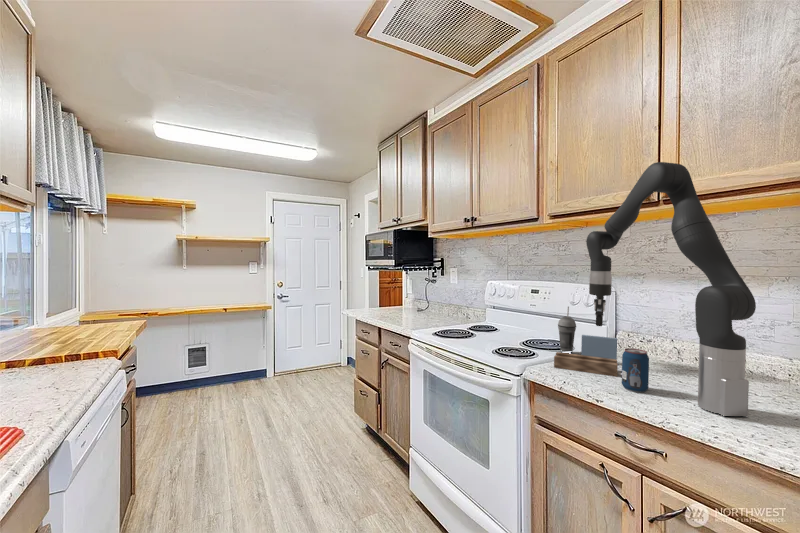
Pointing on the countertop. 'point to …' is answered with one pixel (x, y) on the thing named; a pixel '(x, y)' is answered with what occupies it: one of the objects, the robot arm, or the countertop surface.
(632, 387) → the soda can
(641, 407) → the countertop surface
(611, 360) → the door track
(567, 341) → the beverage cup
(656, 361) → the countertop surface
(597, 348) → the door panel
